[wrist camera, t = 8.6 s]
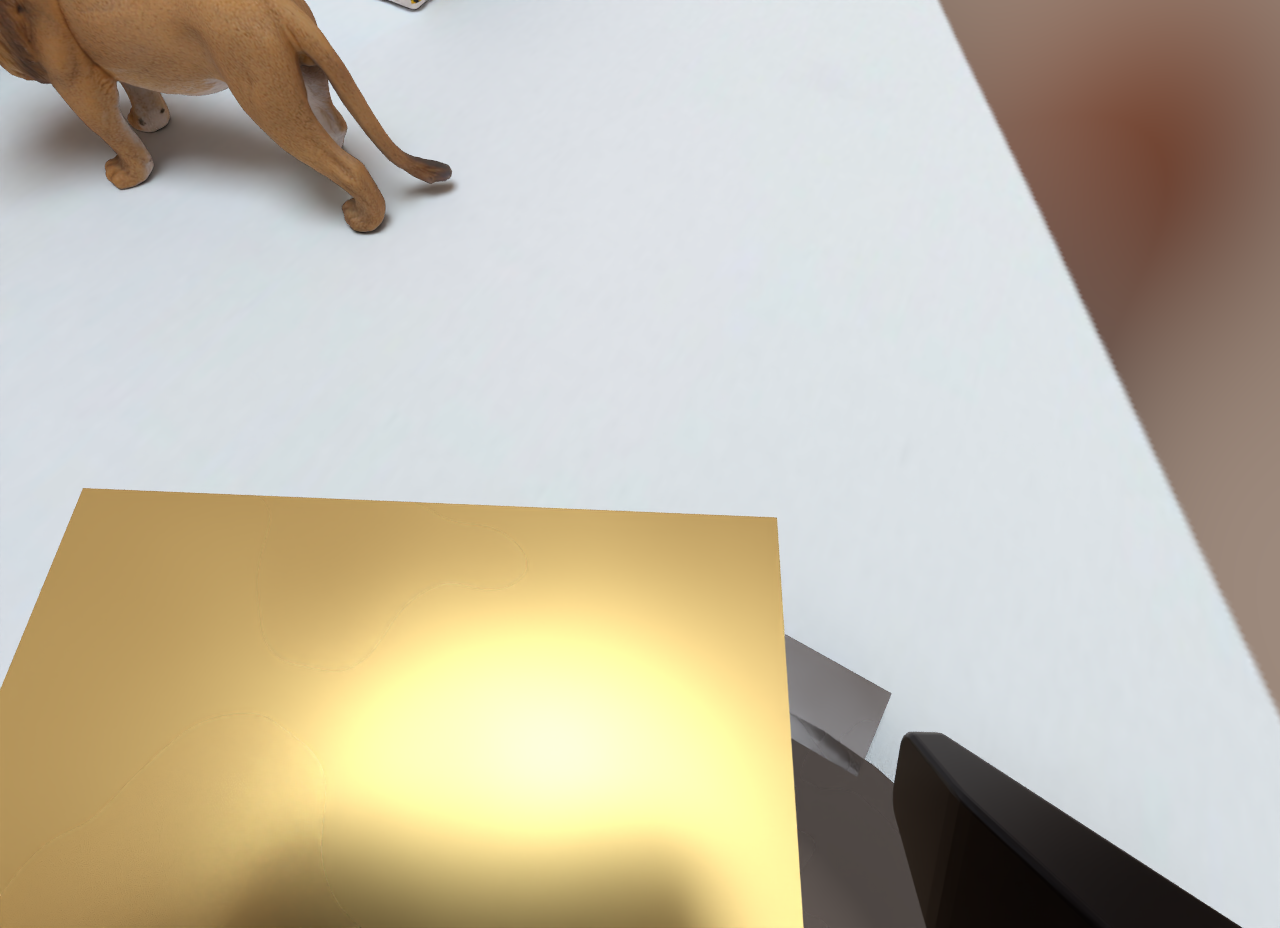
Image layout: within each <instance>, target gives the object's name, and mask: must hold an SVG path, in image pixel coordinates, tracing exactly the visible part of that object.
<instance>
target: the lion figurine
mask: <svg viewBox="0 0 1280 928" xmlns="http://www.w3.org/2000/svg"><path fill="white" fill-rule="evenodd" d="M0 65H1V66H2V67H3V68H4V69H6V70H7V71H8V72H9V73H10V74H12V75H14V76H17V77H20V78H23V79H26V80H35V81H38V82H40V83H42V84H52V85H53V86H54V88H55V89H56V90H57V92H58V93H59V94H60V95H61V97H62V98H63V99H64V100H65V101H66V103H67V104H68V105H69V106H70V107H71V109H72V110H73V111H74V112H75V113H76V114H77V116H78V117H79V118H80V119H81V120H82V121H83V122H84V123H85V124H86V125H87V126H88V127H89V128H90V129H91V130H92V131H93V132H95V133H96V134H97V135H99V136H100V137H101V138H102V139H103V140H104V141H105V142H106V143H107V144H108V145H109V146H110V147H111V148H112V149H113V150H114V151H115V152H116V153H117V154H118V155H117V156H116V157H115V158H113V159H110V160H108V161H107V162H106V164H105V169H106V177H107V179H108V180H109V181H110V182H112V183H113V184H114V185H115V186H116V187H117V188H120V189H125V188H129V187H133V186H136V185H138V184H140V183H141V182H143V181H145V180H146V179H147V178H148V176H149V174H150V173H151V171H152V169H153V165H154V164H153V160H152V157H151V155H150V153H149V152H148V150H147V149H146V147H145V145H144V144H143V142H142V141H141V139H140V138H139V137H138V136H137V135H136V134H135V132H134V131H133V130H132V129H131V127H130V126H129V124H128V123H127V121H126V120H125V119H124V117H123V116H122V114H121V111H120V108H119V93H118V89H117V81H119V82H120V83H121V85H122V86H123V88H124V89H125V91H126V93H127V95H128V97H129V99H130V101H131V105H132V108H131V109H130V113H129V114H128V122H129V123H130V125H131V126H132V127H133V128H135V129H136V130H139V131H144V132H153V131H156V130H158V129H160V128H162V127H164V126H166V125H167V124H168V121H169V119H170V114H169V110H168V107H167V105H166V103H165V101H164V99H163V97H162V95H161V93H166V94H182V95H191V96H200V95H209V94H213V93H217V92H220V91H222V90H225V89H227V88H229V89H230V90H231V92H232V94H233V95H234V97H235V98H236V100H237V101H238V103H239V104H240V106H241V107H242V108H243V110H244V111H245V112H246V113H247V114H248V115H249V116H250V117H251V119H252V120H253V121H254V122H255V123H256V124H257V125H258V126H259V127H260V128H261V129H262V130H263V131H264V132H265V133H266V134H267V135H268V136H269V137H270V138H271V139H272V140H273V141H274V142H276V143H277V144H278V145H279V146H280V147H281V148H282V149H283V150H285V151H286V152H287V153H289V154H290V155H292V156H293V157H295V158H296V159H298V160H299V161H301V162H303V163H304V164H306V165H308V166H309V167H311V168H313V169H314V170H316V171H317V172H319V173H320V174H322V175H324V176H326V177H327V178H329V179H330V180H332V181H333V182H334V183H336V184H337V185H339V186H340V187H342V188H343V189H344V190H345V191H347V192H348V193H349V194H350V195H351V196H352V197H354V198H352V199H350V200H347V201H346V202H345V203H344V204H343V206H342V210H343V213H344V218H345V221H346V222H347V224H349V225H350V227H351V228H352V229H353V230H355V231H360V232H367V231H372V230H375V229H376V228H377V227H378V226H379V225H380V224H381V222H382V220H383V218H384V215H385V200H384V198H383V196H382V194H381V192H380V190H379V189H378V187H377V185H376V183H375V182H374V180H373V179H372V177H371V175H370V174H369V172H368V170H367V169H366V167H365V166H364V165H363V163H362V162H360V161H359V160H358V159H356V158H355V157H353V156H351V155H350V154H349V153H347V152H346V151H345V150H343V149H342V148H341V147H342V146H343V142H344V137H345V135H346V132H347V124H346V122H345V120H344V118H343V117H342V115H341V114H340V113H339V111H338V110H337V109H336V108H335V106H334V105H333V103H332V100H331V97H330V93H329V86H328V80H329V82H330V83H331V85H332V86H333V88H334V90H335V91H336V93H337V94H338V96H339V98H340V99H341V101H342V102H343V104H344V105H345V107H346V108H347V109H348V111H349V112H350V113H351V115H352V116H353V117H354V119H355V120H356V121H357V123H358V124H359V125H360V127H361V128H362V129H363V131H364V132H365V133H366V135H367V136H368V137H369V138H370V139H371V141H372V142H373V143H374V144H375V145H376V147H377V148H378V149H379V150H380V151H381V152H382V153H383V154H384V155H385V157H386V158H387V159H388V160H389V161H391V162H392V163H394V164H395V165H396V166H398V167H399V168H401V169H403V170H405V171H406V172H408V173H409V174H410V175H412V176H414V177H416V178H418V179H421V180H423V181H425V182H427V183H430V184H432V183H434V182H439V181H446V180H447V179H449V178H450V177H451V175H452V170H451V169H450V167H449V166H448V165H447V164H444V163H441V162H438V161H434V160H427V159H422V158H420V157H414V156H412V155H409V154H407V153H405V152H403V151H402V150H401V149H400V148H399V147H397V146H396V145H395V144H394V143H393V142H392V141H391V139H390V138H389V136H388V135H387V134H386V132H385V131H384V129H383V128H382V126H381V125H380V123H379V122H378V120H377V119H376V117H375V115H374V114H373V112H372V111H371V109H370V107H369V106H368V104H367V102H366V101H365V99H364V97H363V95H362V93H361V92H360V90H359V89H358V87H357V85H356V84H355V82H354V80H353V78H352V76H351V75H350V73H349V71H348V70H347V68H346V67H345V65H344V63H343V62H342V60H341V59H340V57H339V56H338V55H337V53H336V52H335V50H334V49H333V48H332V46H331V45H330V43H329V42H328V40H327V39H326V37H325V36H324V34H323V33H322V32H321V30H320V29H319V28H318V27H317V24H316V21H315V18H314V16H313V13H312V11H311V10H310V8H309V6H308V5H307V3H306V2H305V1H304V0H0ZM160 92H161V93H160Z"/></svg>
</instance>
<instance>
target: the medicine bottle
mask: <svg viewBox="0 0 1280 928" xmlns="http://www.w3.org/2000/svg"><path fill="white" fill-rule="evenodd" d="M389 1H392V2H394V3H397V4H400V5H402V6H405V7H408V8H410V9H417V8H419V7H420V6H421V5H422V4H423V3H424V2H425V1H426V0H389Z"/></svg>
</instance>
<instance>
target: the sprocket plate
mask: <svg viewBox="0 0 1280 928" xmlns="http://www.w3.org/2000/svg"><path fill="white" fill-rule="evenodd" d="M785 652H786V667H787V682H788V698H789V713H790V729H791V744H792V760H793V775H794V790H795V806H796V821H797V837H798V852H799V868H800V883H801V898H802V914H803V928H926V926H925V923H924V919H923V916H922V912H921V908H920V905H919V901H918V898H917V894H916V890H915V887H914V883H913V880H912V876H911V873H910V869H909V865H908V862H907V858H906V855H905V851H904V847H903V844H902V840H901V837H900V833H899V829H898V826H897V822H896V819H895V815H894V810H893V800H892V799H893V787H894V783H893V782H892V781H891V780H890V779H888V778H887V777H886V776H885V775H884V774H883V773H882V772H881V771H879V770H878V769H877V768H876V767H875V766H873V765H872V764H870V763H869V762H868V761H866V760H865V757H866V754H867V752H868V749H869V747H870V744H871V742H872V740H873V737H874V735H875V732H876V730H877V727H878V725H879V723H880V720H881V718H882V715H883V713H884V710H885V708H886V706H887V703H888V701H889V698H890V696H891V693H890V692H888V691H886V690H884V689H883V688H881V687H879V686H877V685H875V684H874V683H872V682H870V681H868V680H866V679H865V678H863V677H861V676H859V675H857V674H856V673H854V672H852V671H850V670H849V669H847V668H845V667H843V666H841V665H840V664H838V663H836V662H834V661H832V660H831V659H829V658H827V657H825V656H823V655H822V654H820V653H818V652H816V651H815V650H813V649H811V648H809V647H807V646H806V645H804V644H802V643H800V642H798V641H797V640H795V639H793V638H791V637H789V636H788V635H786V634H785Z"/></svg>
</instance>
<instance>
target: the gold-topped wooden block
mask: <svg viewBox="0 0 1280 928" xmlns="http://www.w3.org/2000/svg"><path fill="white" fill-rule="evenodd" d="M0 928H803V914H802V898H801V883H800V868H799V852H798V837H797V821H796V806H795V790H794V775H793V760H792V744H791V729H790V713H789V698H788V682H787V667H786V652H785V636H784V621H783V605H782V590H781V574H780V559H779V543H778V528H777V518H774V517H751V516H727V515H704V514H680V513H656V512H633V511H609V510H586V509H562V508H538V507H515V506H491V505H468V504H444V503H421V502H397V501H373V500H350V499H326V498H303V497H279V496H256V495H232V494H208V493H185V492H161V491H138V490H114V489H90V488H83V490H82V492H81V495H80V497H79V499H78V502H77V504H76V507H75V509H74V512H73V514H72V516H71V519H70V521H69V524H68V526H67V529H66V531H65V533H64V536H63V538H62V541H61V543H60V546H59V548H58V551H57V553H56V555H55V558H54V560H53V563H52V565H51V568H50V570H49V572H48V575H47V577H46V580H45V582H44V585H43V587H42V589H41V592H40V594H39V597H38V599H37V602H36V604H35V606H34V609H33V611H32V614H31V616H30V619H29V621H28V624H27V626H26V628H25V631H24V633H23V636H22V638H21V641H20V643H19V645H18V648H17V650H16V653H15V655H14V658H13V660H12V662H11V665H10V667H9V670H8V672H7V675H6V677H5V679H4V682H3V684H2V687H1V689H0Z"/></svg>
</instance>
